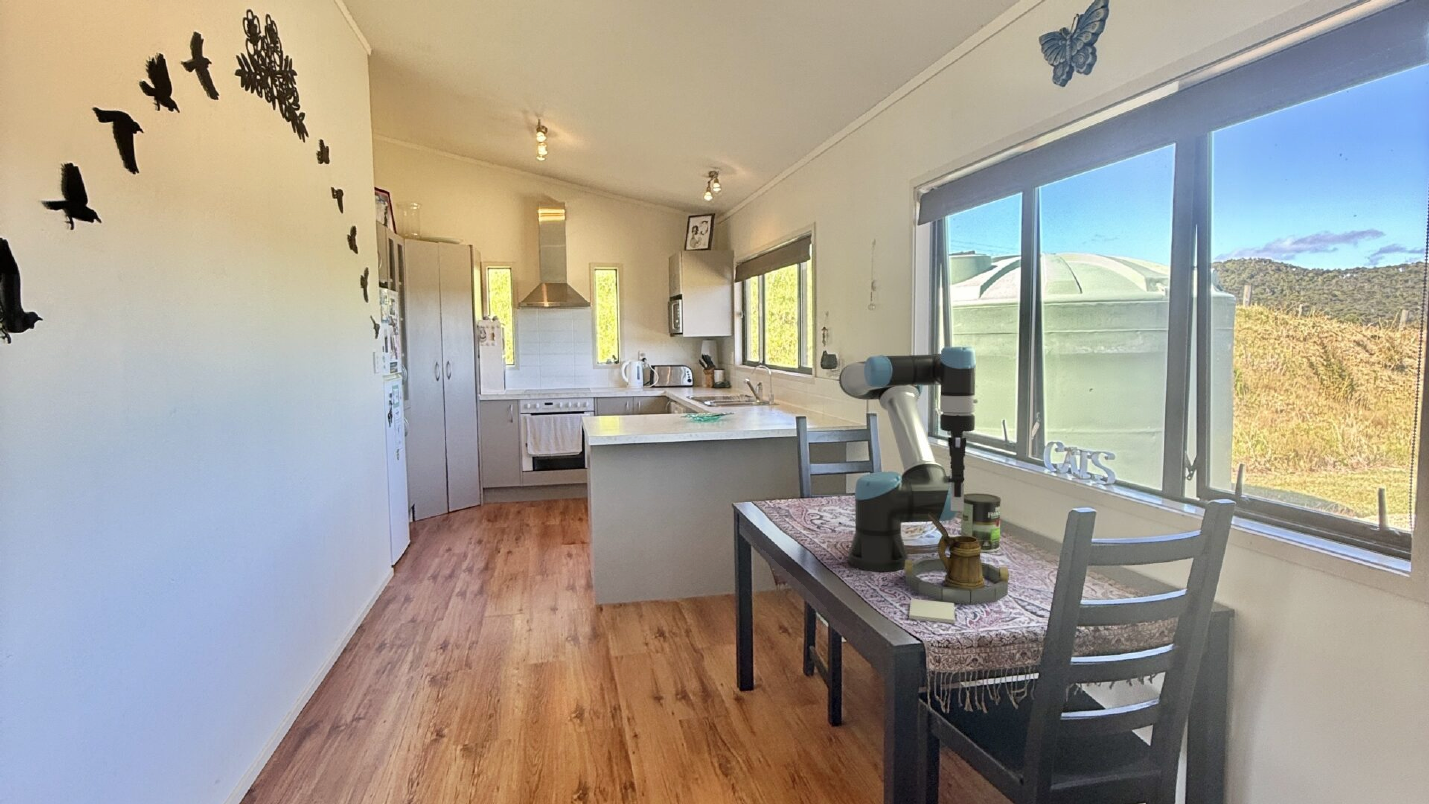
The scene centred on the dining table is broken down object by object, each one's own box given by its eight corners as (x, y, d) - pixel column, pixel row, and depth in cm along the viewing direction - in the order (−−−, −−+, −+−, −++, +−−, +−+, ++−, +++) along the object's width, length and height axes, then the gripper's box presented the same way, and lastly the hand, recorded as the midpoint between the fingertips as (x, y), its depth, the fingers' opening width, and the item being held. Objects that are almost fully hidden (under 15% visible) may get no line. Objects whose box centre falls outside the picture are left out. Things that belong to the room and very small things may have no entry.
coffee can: (1006, 546, 188) (1007, 497, 187) (988, 555, 181) (989, 503, 180) (971, 539, 196) (972, 491, 194) (953, 546, 189) (953, 497, 188)
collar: (902, 597, 154) (902, 578, 153) (907, 565, 175) (907, 548, 174) (1012, 608, 146) (1012, 588, 146) (1003, 573, 168) (1004, 555, 167)
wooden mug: (920, 579, 165) (921, 507, 163) (975, 577, 165) (976, 505, 164) (934, 593, 156) (934, 517, 154) (991, 591, 157) (992, 515, 155)
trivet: (909, 618, 142) (909, 615, 142) (911, 602, 151) (911, 599, 151) (954, 623, 140) (954, 619, 140) (953, 606, 148) (953, 603, 148)
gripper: (977, 420, 144) (976, 518, 146) (972, 407, 167) (971, 492, 169) (940, 419, 146) (939, 515, 148) (940, 407, 169) (939, 490, 171)
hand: (956, 503), depth 158 cm, fingers open, 13 cm apart
